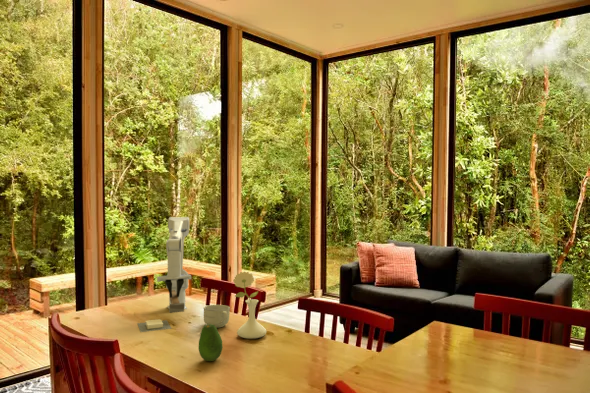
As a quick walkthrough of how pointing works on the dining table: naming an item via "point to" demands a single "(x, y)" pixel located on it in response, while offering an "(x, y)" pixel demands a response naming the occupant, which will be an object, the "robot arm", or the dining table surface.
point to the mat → (144, 328)
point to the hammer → (175, 304)
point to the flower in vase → (251, 326)
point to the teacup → (216, 315)
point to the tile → (154, 324)
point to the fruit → (210, 343)
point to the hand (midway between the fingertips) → (174, 296)
